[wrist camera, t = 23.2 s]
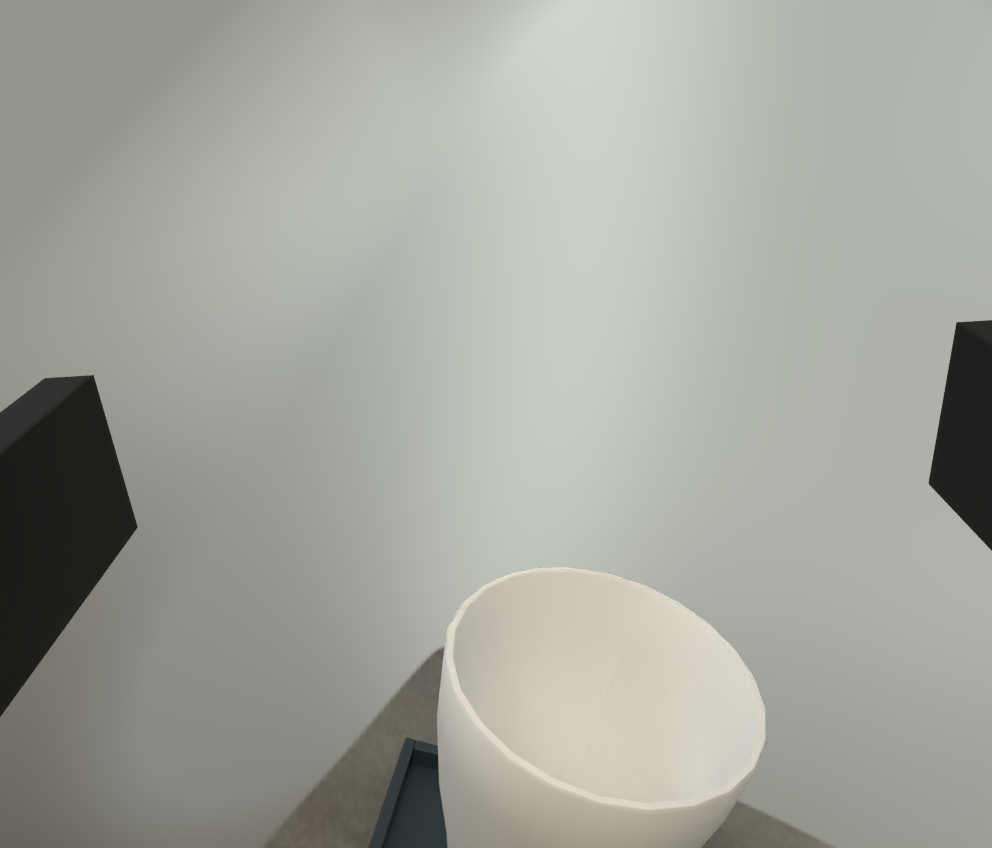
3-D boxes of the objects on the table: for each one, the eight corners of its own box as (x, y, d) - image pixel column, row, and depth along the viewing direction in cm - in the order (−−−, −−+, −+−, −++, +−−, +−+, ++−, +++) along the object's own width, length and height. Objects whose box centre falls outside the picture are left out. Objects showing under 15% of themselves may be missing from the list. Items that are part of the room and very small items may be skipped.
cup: (332, 975, 30) (381, 701, 24) (458, 769, 39) (517, 531, 33) (607, 1144, 27) (743, 881, 21) (676, 880, 36) (785, 641, 30)
